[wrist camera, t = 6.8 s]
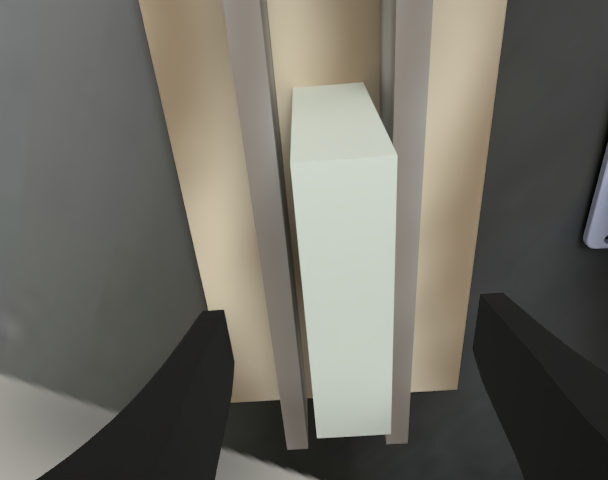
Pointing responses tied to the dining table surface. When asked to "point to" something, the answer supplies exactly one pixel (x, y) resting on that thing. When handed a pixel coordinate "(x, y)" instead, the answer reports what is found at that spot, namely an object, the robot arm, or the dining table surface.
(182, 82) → the door track base
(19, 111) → the dining table surface
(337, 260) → the door panel
